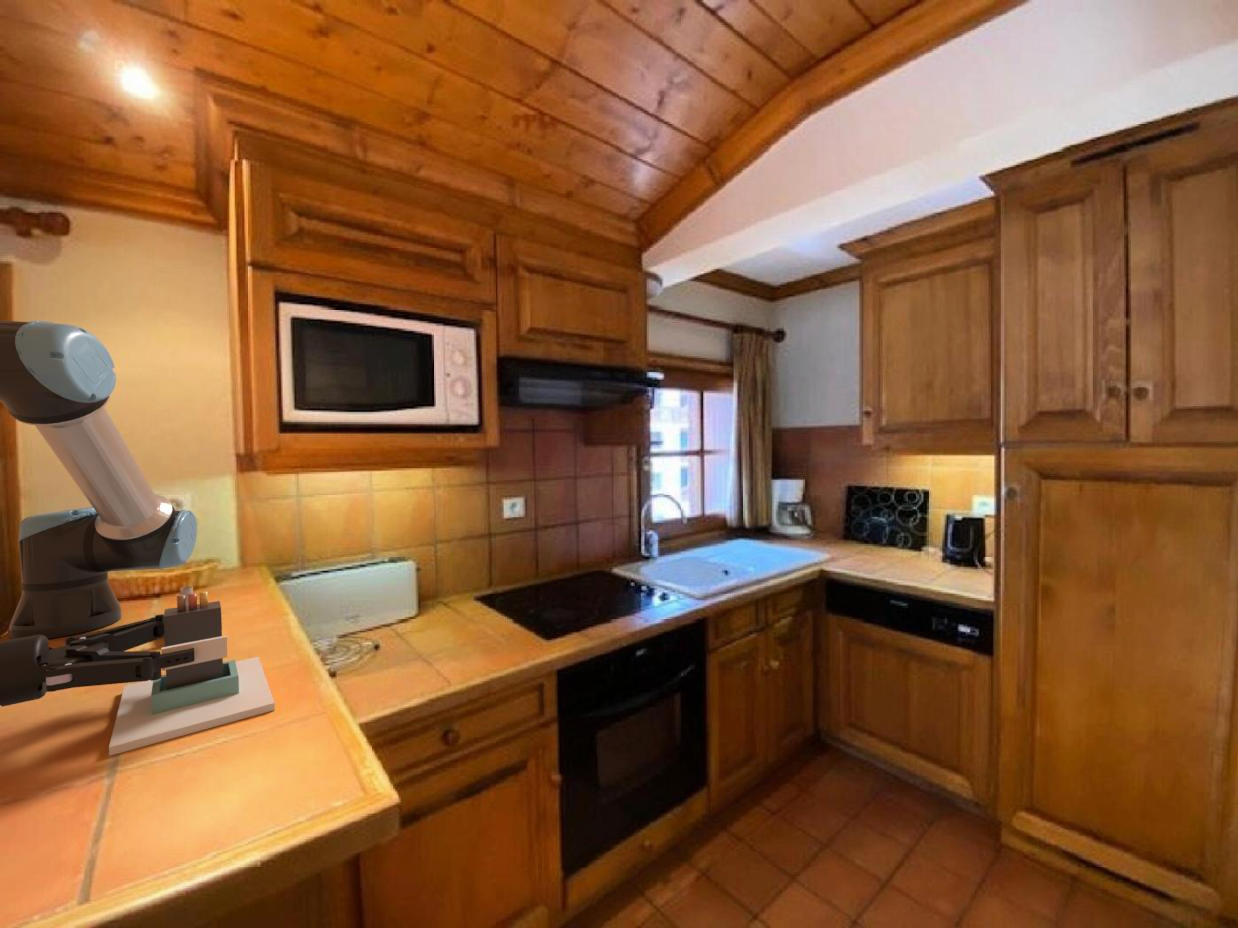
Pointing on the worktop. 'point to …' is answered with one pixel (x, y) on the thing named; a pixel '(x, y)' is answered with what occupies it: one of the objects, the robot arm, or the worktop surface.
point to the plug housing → (193, 637)
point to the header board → (189, 705)
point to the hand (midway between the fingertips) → (224, 631)
